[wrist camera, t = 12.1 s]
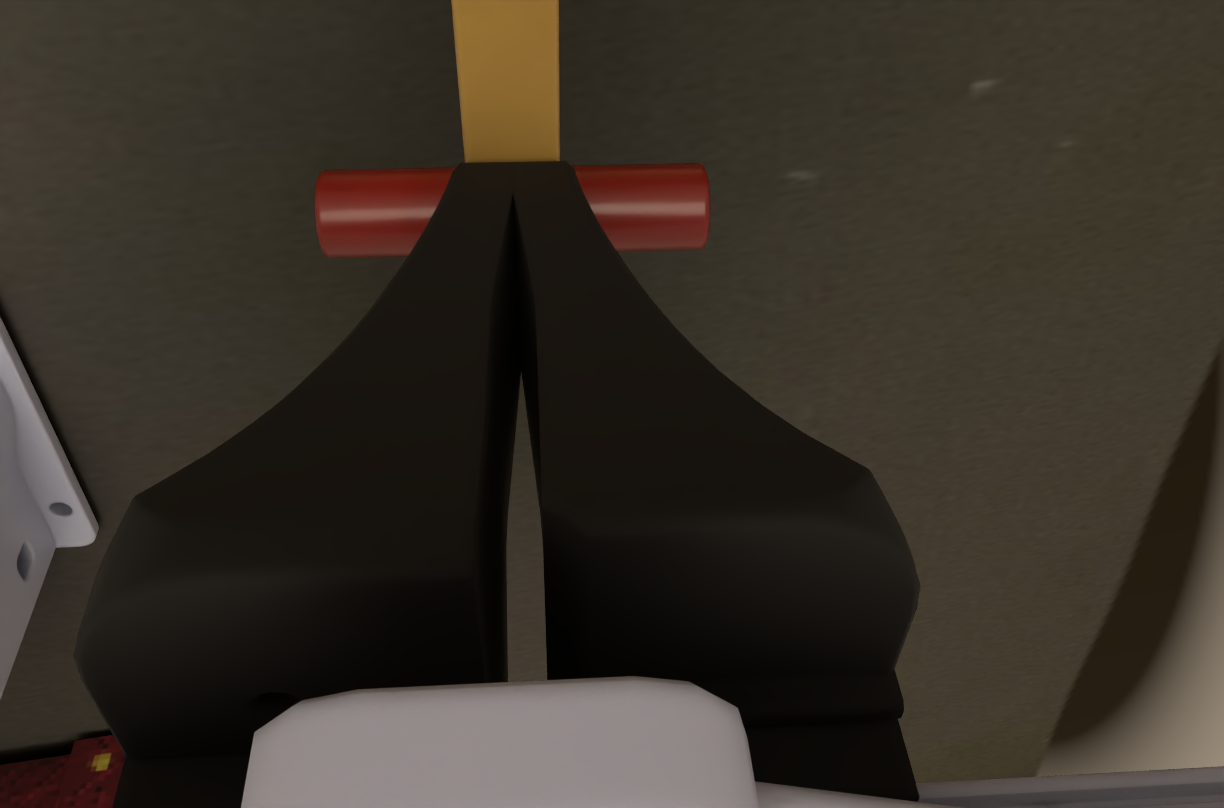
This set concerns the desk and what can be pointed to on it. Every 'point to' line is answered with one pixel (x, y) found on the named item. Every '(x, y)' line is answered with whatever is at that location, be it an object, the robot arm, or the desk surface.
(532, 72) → the switch lever
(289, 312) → the desk surface
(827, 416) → the desk surface
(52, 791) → the decorative book
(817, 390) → the desk surface
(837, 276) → the desk surface
